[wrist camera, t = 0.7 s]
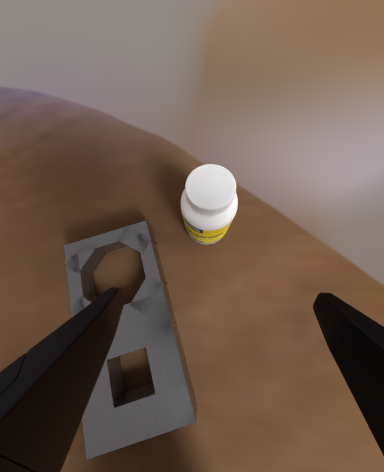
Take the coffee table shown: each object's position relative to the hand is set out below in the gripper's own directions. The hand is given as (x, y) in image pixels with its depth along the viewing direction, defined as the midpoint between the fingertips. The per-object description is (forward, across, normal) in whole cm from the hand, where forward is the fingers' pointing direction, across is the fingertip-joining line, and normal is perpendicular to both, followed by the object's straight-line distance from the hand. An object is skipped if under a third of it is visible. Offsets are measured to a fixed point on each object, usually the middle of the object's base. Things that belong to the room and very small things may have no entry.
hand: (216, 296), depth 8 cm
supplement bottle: (+15, 0, +4) cm, 16 cm away
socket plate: (+7, +9, +12) cm, 16 cm away
